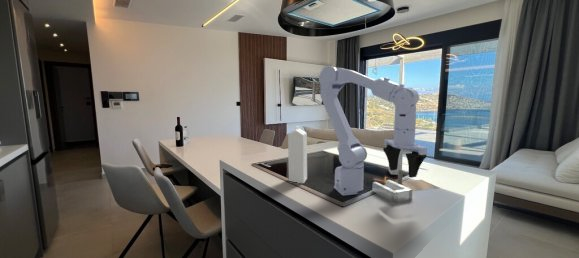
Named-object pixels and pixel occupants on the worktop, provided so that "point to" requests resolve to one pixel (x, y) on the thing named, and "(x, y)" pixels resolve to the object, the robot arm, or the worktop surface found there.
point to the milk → (297, 155)
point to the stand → (415, 183)
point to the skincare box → (395, 172)
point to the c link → (393, 191)
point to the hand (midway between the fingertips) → (402, 173)
